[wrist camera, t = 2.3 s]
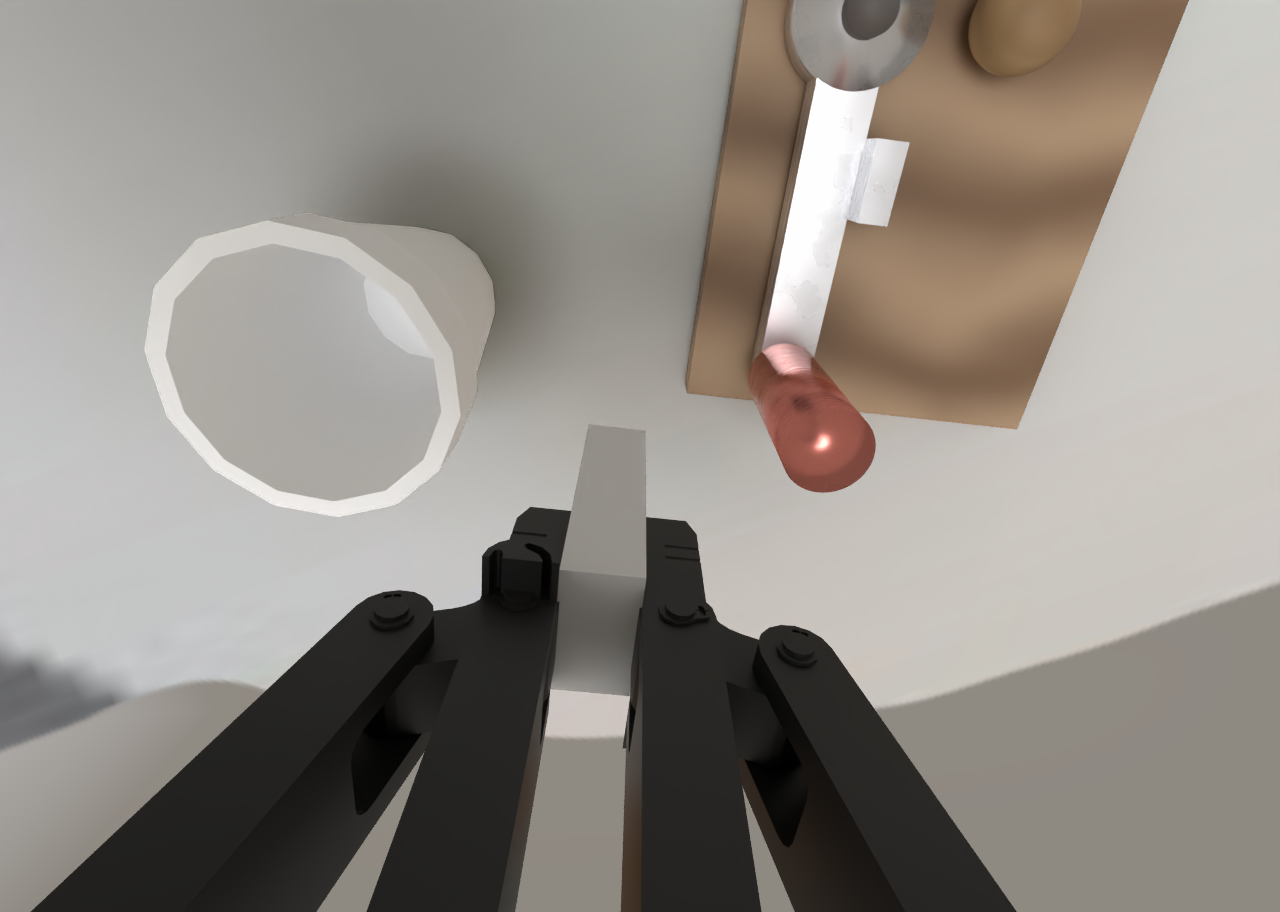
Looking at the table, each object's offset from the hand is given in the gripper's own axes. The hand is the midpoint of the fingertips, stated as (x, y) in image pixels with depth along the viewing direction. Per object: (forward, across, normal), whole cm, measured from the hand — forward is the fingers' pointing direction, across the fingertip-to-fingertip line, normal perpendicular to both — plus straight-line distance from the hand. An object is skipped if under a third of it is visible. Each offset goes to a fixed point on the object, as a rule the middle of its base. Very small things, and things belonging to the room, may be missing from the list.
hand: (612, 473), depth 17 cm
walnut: (+13, +13, +14) cm, 23 cm away
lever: (+14, +7, +7) cm, 18 cm away
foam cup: (+17, -10, 0) cm, 19 cm away
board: (+16, +12, +8) cm, 22 cm away
